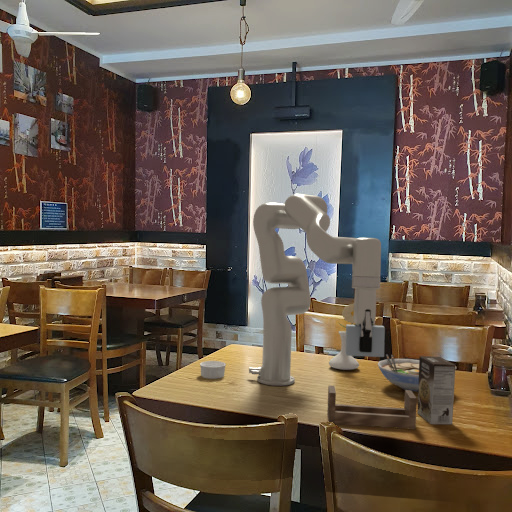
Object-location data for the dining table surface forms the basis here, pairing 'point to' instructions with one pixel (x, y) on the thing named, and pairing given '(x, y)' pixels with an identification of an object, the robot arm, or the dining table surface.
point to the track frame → (373, 413)
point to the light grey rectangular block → (354, 341)
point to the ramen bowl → (401, 372)
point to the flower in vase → (341, 359)
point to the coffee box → (436, 389)
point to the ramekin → (212, 369)
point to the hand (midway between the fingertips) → (364, 349)
